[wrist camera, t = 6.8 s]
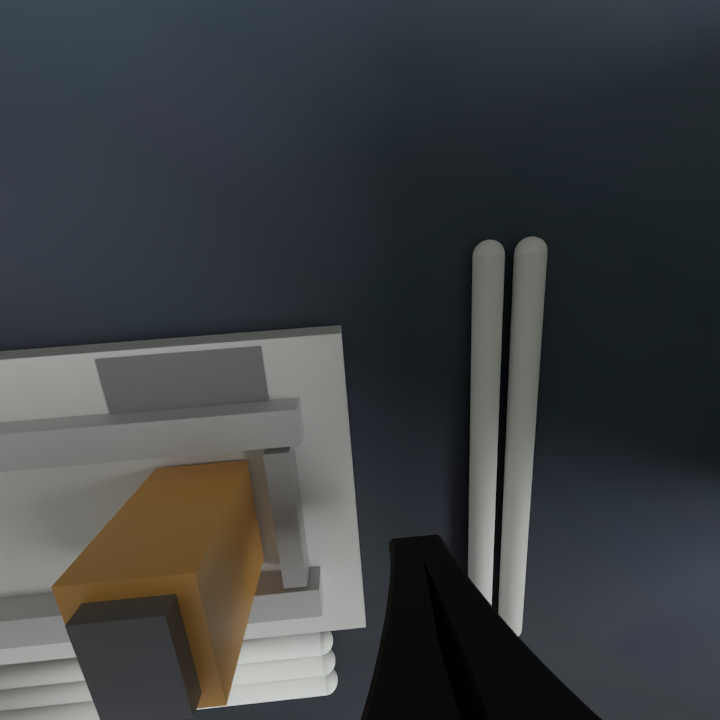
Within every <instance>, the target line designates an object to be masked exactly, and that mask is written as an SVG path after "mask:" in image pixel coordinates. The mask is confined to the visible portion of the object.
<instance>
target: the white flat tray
mask: <svg viewBox="0 0 720 720" xmlns="http://www.w3.org/2000/svg"><path fill="white" fill-rule="evenodd" d="M236 461H247V462H248V468H249V474H250V479H251V485H252V491H253V497H254V503H255V508H256V514H257V520H258V526H259V532H260V538H261V543H262V549H263V555H264V561H263V564H262V568H261V572H260V576H259V580H258V584H257V588H256V592H255V596H254V600H253V604H252V608H251V611H250V615H249V619H248V623H247V627H246V631H245V635H244V639H243V640H247V639H257V638H267V637H276V636H286V635H295V634H305V633H315V632H324V631H334V630H343V629H353V628H363V627H366V621H365V607H364V593H363V581H362V569H361V557H360V545H359V533H358V521H357V509H356V497H355V486H354V474H353V462H352V450H351V438H350V426H349V414H348V402H347V390H346V378H345V366H344V354H343V342H342V330H341V325H335V326H322V327H309V328H296V329H283V330H270V331H257V332H244V333H231V334H218V335H205V336H192V337H179V338H166V339H153V340H140V341H127V342H114V343H101V344H88V345H75V346H63V347H50V348H37V349H24V350H11V351H0V665H7V664H17V663H26V662H36V661H46V660H55V659H65V658H74V657H76V655H75V652H74V649H73V647H72V644H71V641H70V639H69V636H68V634H67V631H66V628H65V623H64V621H63V618H62V615H61V613H60V610H59V607H58V605H57V602H56V599H55V597H54V594H53V591H52V589H51V587H52V585H53V584H54V583H55V582H56V581H57V580H58V579H59V578H60V576H61V575H62V574H63V573H64V572H65V571H66V570H67V568H68V567H69V566H70V565H71V564H72V563H73V562H74V561H75V559H76V558H77V557H78V556H79V555H80V554H81V553H82V552H83V550H84V549H85V548H86V547H87V546H88V545H89V544H90V542H91V541H92V540H93V539H94V538H95V537H96V536H97V535H98V533H99V532H100V531H101V530H102V529H103V528H104V527H105V525H106V524H107V523H108V522H109V521H110V520H111V519H112V518H113V516H114V515H115V514H116V513H117V512H118V511H119V510H120V509H121V507H122V506H123V505H124V504H125V503H126V502H127V501H128V499H129V498H130V497H131V496H132V495H133V494H134V493H135V492H136V490H137V489H138V488H139V487H140V486H141V485H142V484H143V482H144V481H145V480H146V479H147V478H148V477H149V476H150V475H151V473H152V472H153V471H154V470H155V469H157V468H168V467H180V466H191V465H202V464H214V463H225V462H236Z"/></svg>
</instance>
